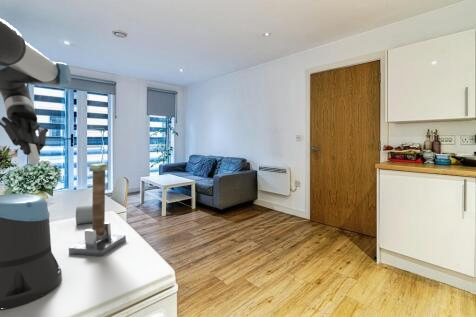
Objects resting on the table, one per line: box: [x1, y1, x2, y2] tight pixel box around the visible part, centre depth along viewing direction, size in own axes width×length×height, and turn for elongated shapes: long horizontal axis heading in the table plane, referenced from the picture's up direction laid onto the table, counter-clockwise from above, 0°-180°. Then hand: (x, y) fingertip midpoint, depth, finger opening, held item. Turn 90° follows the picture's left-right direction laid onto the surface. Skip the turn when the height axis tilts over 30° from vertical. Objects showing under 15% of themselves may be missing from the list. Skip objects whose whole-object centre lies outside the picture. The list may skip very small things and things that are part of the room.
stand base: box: [68, 222, 127, 257], centre depth 84 cm, size 12×12×7 cm
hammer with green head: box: [88, 162, 109, 241], centre depth 83 cm, size 5×4×26 cm
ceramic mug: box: [75, 205, 92, 225], centre depth 110 cm, size 11×8×8 cm
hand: (34, 161), depth 74 cm, fingers closed
